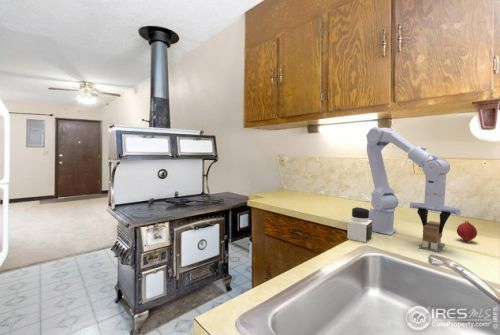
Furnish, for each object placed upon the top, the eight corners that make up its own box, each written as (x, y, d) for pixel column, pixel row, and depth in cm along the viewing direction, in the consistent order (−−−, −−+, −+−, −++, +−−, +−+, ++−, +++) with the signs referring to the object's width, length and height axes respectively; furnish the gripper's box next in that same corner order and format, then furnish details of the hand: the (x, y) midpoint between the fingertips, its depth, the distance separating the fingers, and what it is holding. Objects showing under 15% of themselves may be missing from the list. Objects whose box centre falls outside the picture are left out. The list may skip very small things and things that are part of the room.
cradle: (439, 253, 85) (439, 244, 84) (418, 248, 89) (418, 239, 89) (444, 245, 92) (445, 237, 91) (424, 240, 96) (425, 233, 96)
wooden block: (428, 233, 95) (429, 220, 95) (442, 236, 92) (442, 223, 92) (422, 240, 88) (423, 226, 88) (436, 243, 85) (437, 229, 85)
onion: (466, 238, 99) (468, 218, 98) (480, 244, 93) (482, 222, 92) (452, 238, 98) (453, 218, 98) (465, 244, 93) (466, 222, 92)
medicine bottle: (366, 243, 93) (367, 211, 93) (347, 238, 98) (347, 208, 97) (371, 238, 99) (373, 208, 98) (353, 234, 103) (354, 205, 103)
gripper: (408, 192, 91) (406, 228, 92) (459, 197, 81) (457, 238, 82) (413, 189, 96) (411, 224, 97) (462, 194, 86) (460, 233, 87)
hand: (432, 231), depth 90 cm, fingers closed on wooden block, 4 cm apart
